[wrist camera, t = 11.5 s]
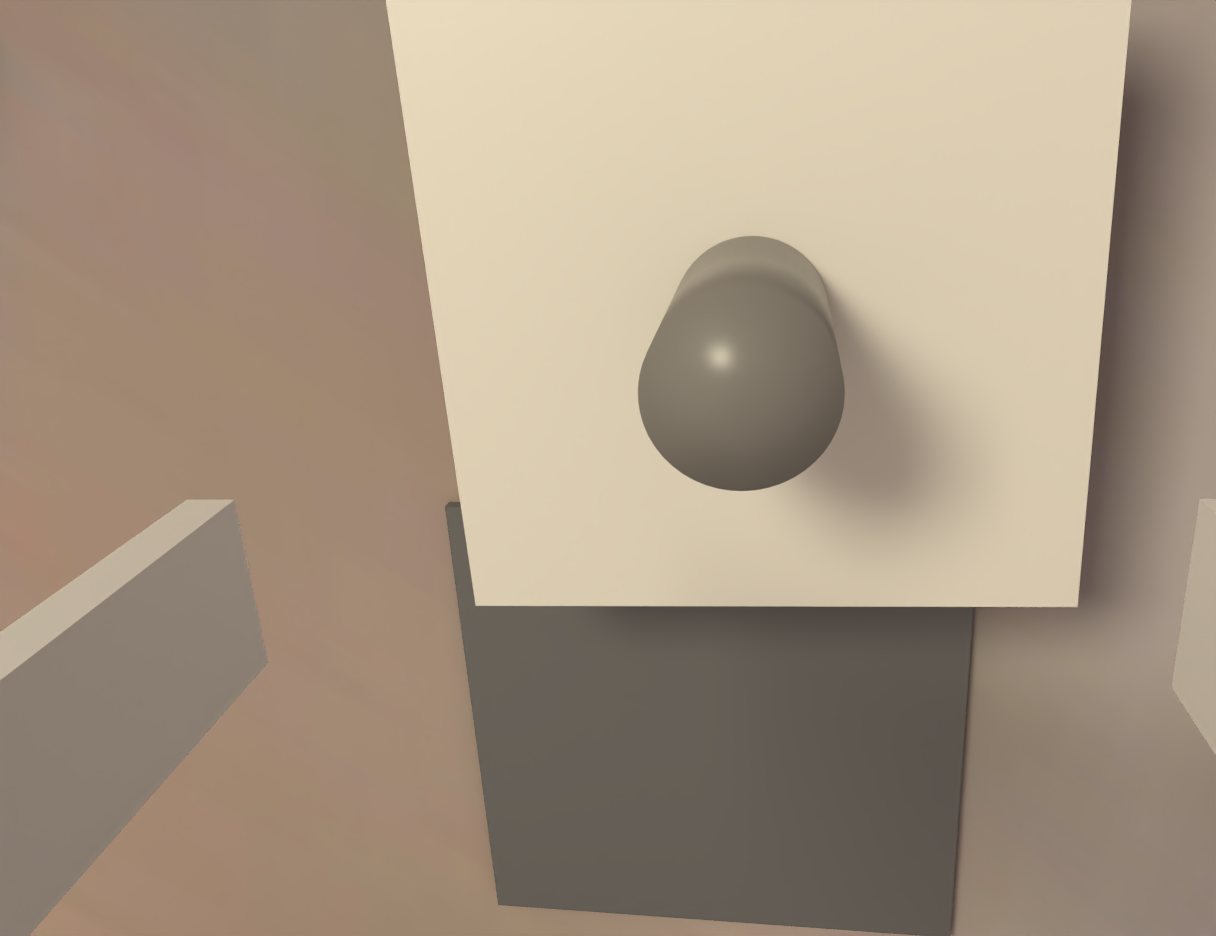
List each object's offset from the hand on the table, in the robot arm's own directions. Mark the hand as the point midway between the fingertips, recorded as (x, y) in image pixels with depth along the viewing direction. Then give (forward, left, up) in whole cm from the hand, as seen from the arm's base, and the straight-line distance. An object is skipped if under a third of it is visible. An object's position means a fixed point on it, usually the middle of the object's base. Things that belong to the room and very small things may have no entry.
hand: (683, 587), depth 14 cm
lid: (0, 0, -18) cm, 18 cm away
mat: (-20, +2, -25) cm, 32 cm away
